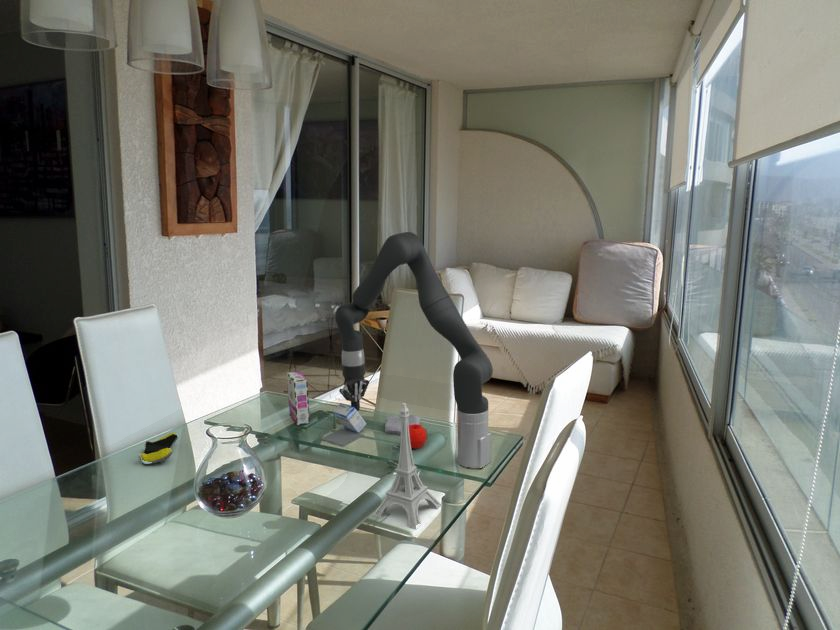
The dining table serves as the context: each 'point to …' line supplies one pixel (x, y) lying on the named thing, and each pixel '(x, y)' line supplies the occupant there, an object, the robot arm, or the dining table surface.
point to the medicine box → (349, 417)
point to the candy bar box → (298, 398)
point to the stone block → (399, 423)
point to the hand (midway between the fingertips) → (355, 410)
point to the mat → (341, 437)
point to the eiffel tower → (407, 480)
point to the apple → (417, 436)
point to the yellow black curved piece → (159, 449)
